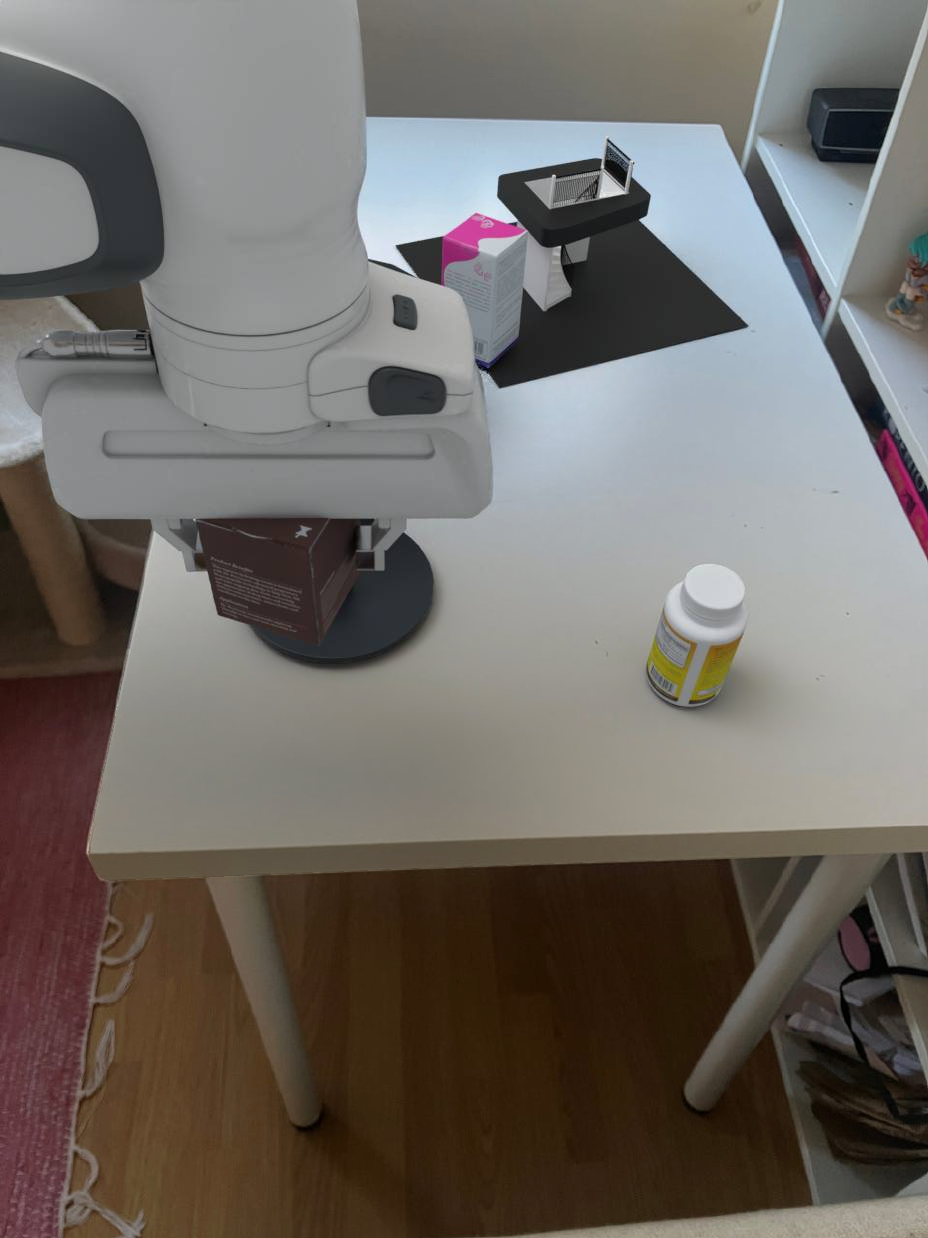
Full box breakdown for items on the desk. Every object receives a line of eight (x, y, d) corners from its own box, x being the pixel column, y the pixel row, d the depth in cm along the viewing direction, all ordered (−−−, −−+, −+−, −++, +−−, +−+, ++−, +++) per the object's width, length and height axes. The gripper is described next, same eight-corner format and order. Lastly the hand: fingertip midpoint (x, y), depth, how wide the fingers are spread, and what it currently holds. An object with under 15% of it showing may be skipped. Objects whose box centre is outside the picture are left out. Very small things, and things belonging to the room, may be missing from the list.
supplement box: (520, 339, 98) (531, 229, 89) (488, 369, 94) (496, 258, 85) (470, 319, 99) (475, 209, 91) (436, 348, 96) (439, 236, 87)
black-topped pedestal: (499, 388, 93) (510, 257, 83) (395, 246, 108) (393, 120, 98) (748, 326, 102) (786, 200, 91) (619, 202, 116) (640, 81, 106)
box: (365, 570, 55) (363, 470, 50) (319, 651, 51) (311, 553, 46) (264, 540, 56) (251, 438, 51) (212, 616, 53) (191, 516, 47)
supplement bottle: (725, 660, 74) (763, 566, 66) (715, 719, 71) (753, 627, 63) (651, 640, 75) (679, 545, 67) (637, 698, 71) (665, 605, 63)
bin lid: (232, 671, 71) (222, 624, 67) (248, 525, 81) (239, 476, 77) (437, 666, 72) (439, 620, 68) (429, 523, 82) (430, 475, 78)
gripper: (-17, 378, 38) (70, 610, 49) (511, 383, 40) (485, 606, 51) (19, 286, 43) (92, 519, 53) (498, 294, 44) (477, 518, 55)
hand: (288, 562), depth 52 cm, fingers closed on box, 7 cm apart
